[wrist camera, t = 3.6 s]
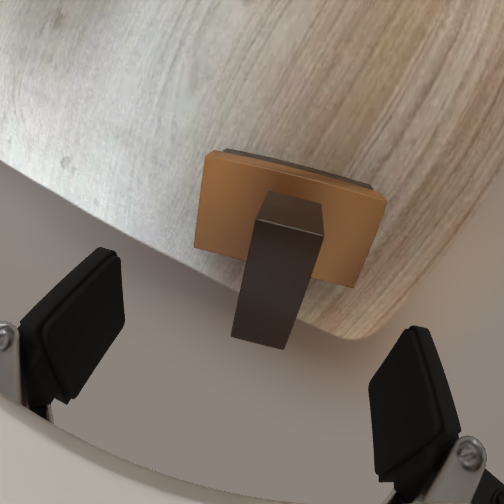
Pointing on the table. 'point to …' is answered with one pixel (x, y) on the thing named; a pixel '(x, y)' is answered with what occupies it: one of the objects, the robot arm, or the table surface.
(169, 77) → the table surface
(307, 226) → the rubber stamp
